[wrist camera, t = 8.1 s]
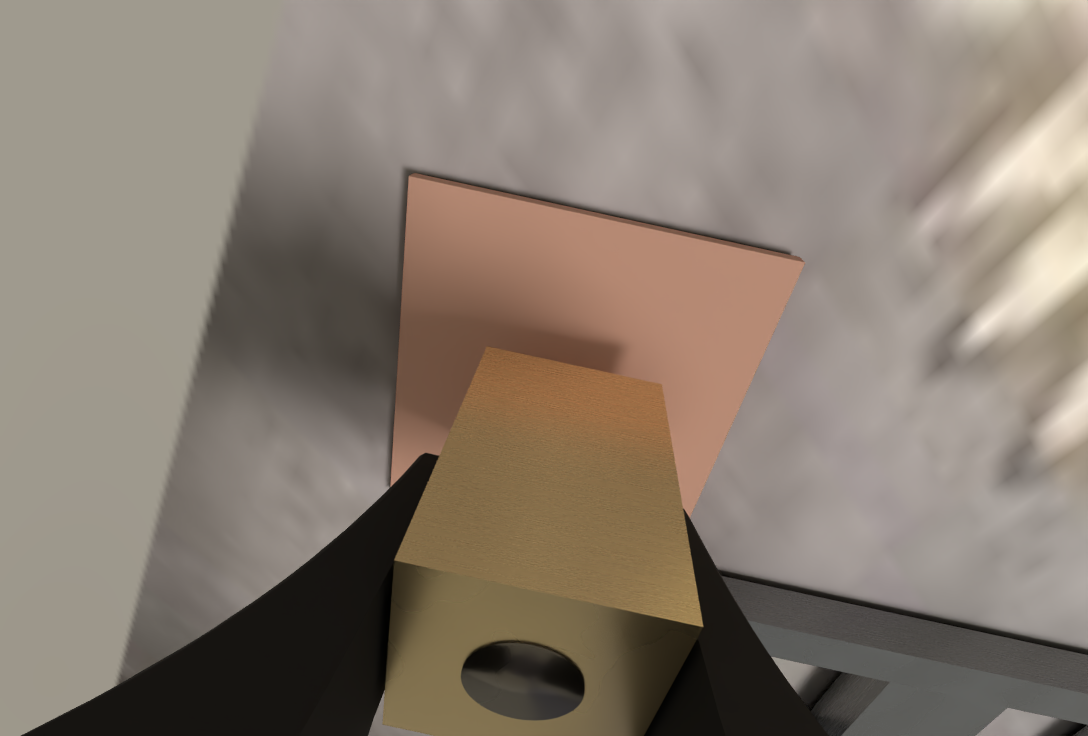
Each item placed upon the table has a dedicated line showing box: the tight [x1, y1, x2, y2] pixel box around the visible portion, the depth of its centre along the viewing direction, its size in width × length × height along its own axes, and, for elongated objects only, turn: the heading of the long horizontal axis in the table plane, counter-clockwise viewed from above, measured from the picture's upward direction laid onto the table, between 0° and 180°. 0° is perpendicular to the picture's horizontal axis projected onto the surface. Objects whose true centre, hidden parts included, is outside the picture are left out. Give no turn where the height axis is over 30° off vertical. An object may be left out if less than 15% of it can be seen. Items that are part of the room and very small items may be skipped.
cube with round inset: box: [383, 346, 703, 736], centre depth 10 cm, size 4×4×6 cm
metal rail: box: [721, 576, 1088, 736], centre depth 19 cm, size 8×20×2 cm, turn 78°
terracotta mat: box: [390, 173, 805, 518], centre depth 15 cm, size 10×9×1 cm
